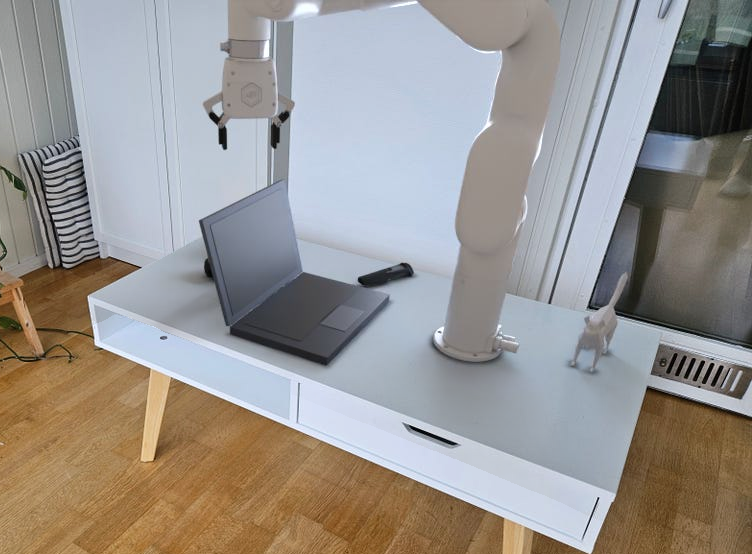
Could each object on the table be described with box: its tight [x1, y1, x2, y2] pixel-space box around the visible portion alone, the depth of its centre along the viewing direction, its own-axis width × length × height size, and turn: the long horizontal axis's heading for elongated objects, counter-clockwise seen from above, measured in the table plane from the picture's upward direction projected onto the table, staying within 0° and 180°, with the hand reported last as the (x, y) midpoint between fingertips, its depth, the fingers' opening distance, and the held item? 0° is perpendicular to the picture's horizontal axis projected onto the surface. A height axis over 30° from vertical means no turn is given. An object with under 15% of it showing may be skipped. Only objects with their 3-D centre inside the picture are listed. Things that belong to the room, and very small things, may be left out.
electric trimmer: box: [357, 262, 415, 287], centre depth 145 cm, size 4×16×3 cm, turn 123°
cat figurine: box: [570, 271, 629, 374], centre depth 115 cm, size 4×20×14 cm, turn 142°
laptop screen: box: [198, 178, 304, 327], centre depth 130 cm, size 21×30×1 cm
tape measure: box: [203, 257, 214, 279], centre depth 145 cm, size 7×7×4 cm
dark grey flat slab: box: [229, 271, 391, 367], centre depth 130 cm, size 21×30×2 cm
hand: (249, 147), depth 123 cm, fingers open, 9 cm apart
